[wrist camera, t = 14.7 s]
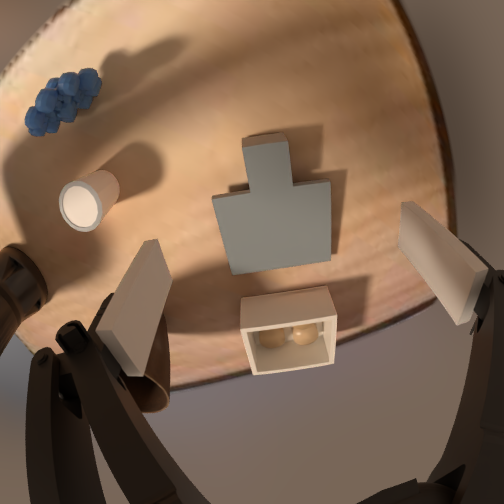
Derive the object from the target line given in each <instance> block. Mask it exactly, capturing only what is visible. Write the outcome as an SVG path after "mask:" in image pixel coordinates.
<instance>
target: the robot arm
mask: <svg viewBox="0 0 504 504" xmlns="http://www.w3.org/2000/svg"><path fill="white" fill-rule="evenodd" d="M398 247H399V249H400V250H401V251H402V252H403V253H404V255H405V256H406V257H407V258H408V260H409V261H410V262H411V263H412V265H413V266H414V267H415V268H416V270H417V271H418V272H419V274H420V275H421V276H422V277H423V279H424V280H425V281H426V283H427V284H428V285H429V287H430V288H431V289H432V291H433V292H434V293H435V295H436V296H437V298H438V299H439V300H440V302H441V303H442V304H443V306H444V307H445V309H446V310H447V312H448V313H449V315H450V316H451V318H452V319H453V320H454V322H455V323H456V325H460V324H462V323H465V322H468V321H469V320H470V318H471V315H472V313H473V311H475V313H476V314H477V315H478V316H477V318H476V321H475V323H474V325H473V327H472V329H471V331H470V335H472V333H473V331H474V335H473V342H472V350H471V355H470V361H469V367H468V372H467V376H466V381H465V386H464V389H463V394H462V398H461V402H460V405H459V409H458V412H457V415H456V419H455V422H454V425H453V428H452V431H451V434H450V437H449V440H448V443H447V445H446V448H445V451H444V453H443V455H442V458H441V460H440V461H439V463H438V464H437V466H436V467H435V468H434V470H433V471H432V473H431V475H430V476H429V478H428V480H427V482H420V483H417V480H416V478H415V479H413V480H410V481H408V482H405V483H402V484H399V485H396V486H394V487H391V488H387V489H384V490H382V491H380V492H378V493H376V494H374V495H373V496H371V497H369V498H367V499H365V500H363V501H361V502H359V503H357V504H504V270H497V271H496V270H495V269H494V268H493V267H492V266H491V265H489V263H488V262H487V261H486V260H485V259H484V258H483V257H482V256H480V255H479V254H478V253H477V252H476V251H475V250H474V249H473V248H472V247H471V246H470V245H469V244H467V243H466V242H464V241H462V240H460V239H457V238H456V237H455V236H454V235H453V234H452V233H451V232H450V231H448V230H447V229H446V228H445V227H444V226H443V225H442V224H440V223H439V222H438V221H437V220H436V219H434V218H433V217H432V216H431V215H430V214H428V213H427V212H426V211H425V210H423V209H422V208H421V207H420V206H418V205H417V204H416V203H415V202H413V201H409V202H401V217H400V229H399V239H398ZM172 282H173V280H172V277H171V275H170V272H169V270H168V267H167V264H166V261H165V259H164V256H163V253H162V250H161V248H160V245H159V242H158V239H153V240H148V241H144V243H143V245H142V246H141V248H140V250H139V251H138V253H137V255H136V256H135V258H134V260H133V261H132V263H131V265H130V266H129V268H128V270H127V272H126V273H125V275H124V277H123V279H122V281H121V282H120V284H119V286H118V288H117V290H116V291H115V293H111V294H110V295H109V296H108V297H107V298H106V299H105V300H104V301H103V303H102V305H101V306H100V310H98V312H97V314H96V316H95V318H94V320H93V321H92V323H91V325H90V327H89V329H88V331H86V329H85V328H84V326H83V325H82V323H81V322H80V321H77V320H74V321H70V322H68V323H66V324H65V325H63V326H62V327H61V328H60V329H59V330H58V332H57V334H56V339H55V340H56V341H57V343H58V344H59V345H60V347H61V348H62V349H63V351H64V353H61V354H57V355H56V354H55V353H54V352H53V350H52V349H51V348H49V347H45V348H42V349H40V350H39V351H37V352H36V353H35V355H34V357H33V358H32V361H31V366H30V374H29V383H28V392H27V405H26V433H25V434H26V436H25V437H26V439H25V440H26V467H27V478H28V487H29V495H30V502H31V504H106V501H105V497H104V494H103V490H102V486H101V483H100V478H99V474H98V470H97V465H96V461H95V455H94V450H93V445H92V439H91V433H90V426H91V429H92V431H93V434H94V436H95V438H96V441H97V443H98V445H99V447H100V449H101V452H102V453H103V456H104V458H105V460H106V462H107V464H108V466H109V468H110V470H111V472H112V474H113V475H114V477H115V479H116V481H117V483H118V484H119V486H120V488H121V490H122V491H123V493H124V495H125V496H126V498H127V500H128V501H129V503H130V504H211V503H210V502H209V501H207V499H206V498H205V497H204V496H203V495H202V494H201V493H200V492H199V491H198V489H197V488H196V487H195V486H194V485H193V483H192V482H191V481H190V480H189V479H188V477H187V476H186V475H185V474H184V472H183V471H182V470H181V469H180V467H179V466H178V465H177V463H176V462H175V461H174V459H173V458H172V457H171V456H170V454H169V453H168V451H167V450H166V449H165V447H164V446H163V444H162V443H161V442H160V440H159V439H158V437H157V436H156V434H155V433H154V431H153V430H152V428H151V427H150V425H149V424H148V422H147V421H146V419H145V417H144V416H143V414H142V413H141V411H140V409H139V408H138V406H137V404H136V403H135V401H134V399H133V397H132V396H131V394H130V392H129V390H128V389H127V387H126V385H125V383H124V381H123V380H122V378H121V377H120V376H119V373H120V370H121V368H122V369H123V371H124V372H125V373H126V374H127V376H143V375H144V372H145V368H146V365H147V361H148V358H149V354H150V351H151V347H152V344H153V341H154V337H155V334H156V331H157V327H158V324H159V321H160V318H161V315H162V312H163V309H164V305H165V302H166V299H167V296H168V293H169V290H170V287H171V284H172ZM46 300H47V288H46V284H45V281H44V279H43V277H42V275H41V273H40V271H39V270H38V268H37V267H36V265H35V264H34V263H33V262H32V261H31V260H30V259H29V257H27V256H26V255H25V254H24V253H23V252H21V251H20V250H18V249H16V248H13V247H6V248H3V249H2V250H1V251H0V356H1V354H2V353H3V351H4V349H5V348H6V346H7V344H8V343H9V341H10V339H11V338H12V336H13V335H14V333H15V332H16V330H17V328H18V327H19V325H20V324H21V323H22V322H23V321H24V320H26V319H27V318H29V317H30V316H32V315H33V314H35V313H36V312H38V311H39V310H40V309H41V308H42V307H43V305H44V304H45V302H46ZM89 424H90V425H89Z"/></svg>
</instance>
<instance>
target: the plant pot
mask: <svg viewBox="0 0 504 504" xmlns="http://www.w3.org/2000/svg"><path fill="white" fill-rule="evenodd" d="M119 376H120V377H121V378H122V380H123V381H124V383H125V385H126V387H127V389H128V390H129V392H130V394H131V396H132V397H133V399H134V401H135V403H136V404H137V406H138V408H139V409H140V411H141V413H156V412H160V411H162V410H164V409H165V408H167V407H168V405H169V399H170V352H169V341H168V333H167V327H166V321H165V317H164V315H163V314H162V315H161V318H160V321H159V324H158V327H157V331H156V334H155V337H154V341H153V344H152V347H151V351H150V354H149V358H148V361H147V365H146V368H145V372H144V375H143V376H127V374H126V373H125V372H124V371H123V369H122V368H121V370H120V373H119Z"/></svg>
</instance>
